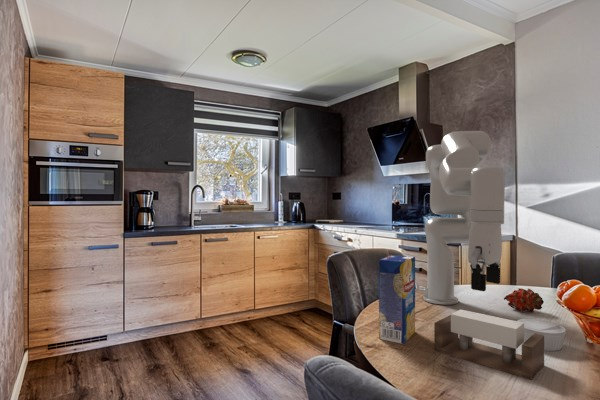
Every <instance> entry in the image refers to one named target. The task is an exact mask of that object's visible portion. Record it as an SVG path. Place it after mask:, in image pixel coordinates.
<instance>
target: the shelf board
mask: <svg viewBox="0 0 600 400" xmlns="http://www.w3.org/2000/svg"><path fill="white" fill-rule="evenodd" d="M450 315H451V332H453V333H457V334H461V335H465V336H469V337H472V338H473V339H477V340H480V341H485V342H489V343H491V344H497V345H499V346H502V345H503V346H507V347H511V348H515V349H516V350H518V348H519V347H520V346H522V344H523V342H524V323H522V322H518V321H516V320H514V319H507V318H502V317H498V316H493V315H489V314H485V313H484V314H483V313H480V312H474V311H470V310H465V309H461V308H460V309H459V310H458V309H457V311H454V312H453V313H451V314H450Z"/></svg>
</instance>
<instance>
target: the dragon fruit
mask: <svg viewBox="0 0 600 400" xmlns="http://www.w3.org/2000/svg"><path fill="white" fill-rule="evenodd" d="M503 300H506V301H507V302H508V303H507V306H509V307H510V308H512V309H516V310H517V311H520V312H521V313H525V312H529V313H534V310H537V311H539V310H540V311H541V309H543V306H542V305H543V304H544V302H545V301H544V300H543V297H541V295H540V294H539V293H538V292H534V291H533V290H532V289H531V288H527V290H526V289H524V288H517V290H513V291H512V292H511V293H509V294H507V295H505V296H504V297H503Z"/></svg>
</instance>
